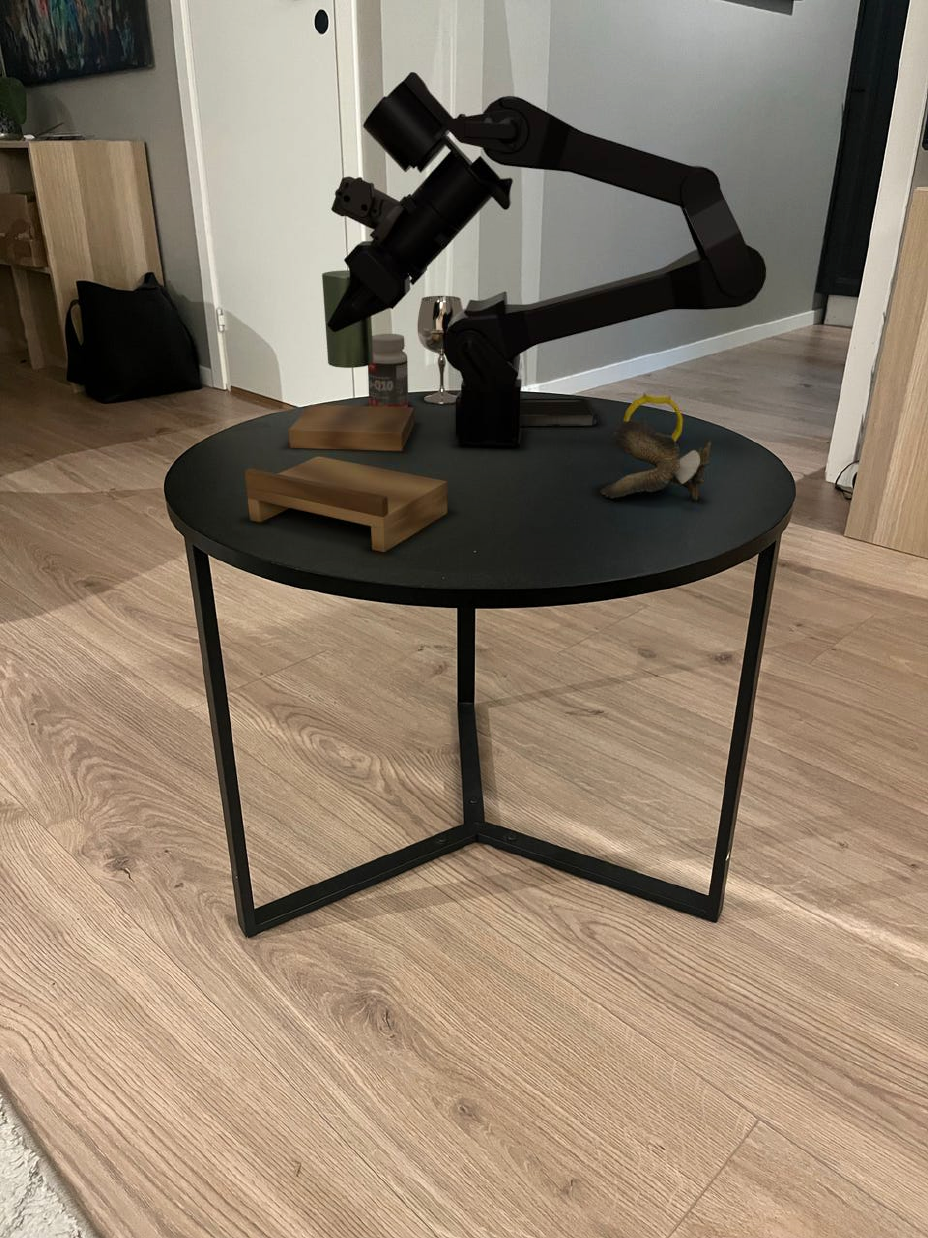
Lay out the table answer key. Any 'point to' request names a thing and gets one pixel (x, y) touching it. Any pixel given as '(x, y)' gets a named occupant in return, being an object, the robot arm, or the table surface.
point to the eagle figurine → (656, 461)
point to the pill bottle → (388, 372)
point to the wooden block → (352, 428)
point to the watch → (657, 398)
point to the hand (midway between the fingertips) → (335, 323)
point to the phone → (557, 412)
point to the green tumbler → (352, 341)
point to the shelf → (350, 497)
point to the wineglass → (437, 334)
